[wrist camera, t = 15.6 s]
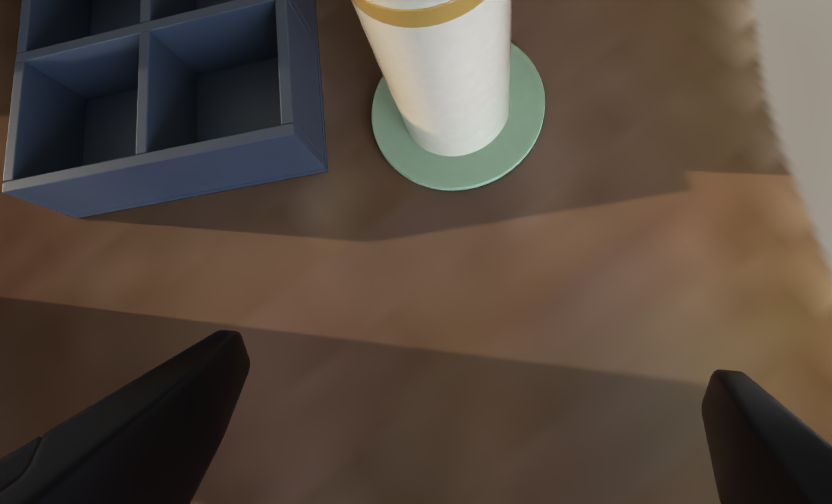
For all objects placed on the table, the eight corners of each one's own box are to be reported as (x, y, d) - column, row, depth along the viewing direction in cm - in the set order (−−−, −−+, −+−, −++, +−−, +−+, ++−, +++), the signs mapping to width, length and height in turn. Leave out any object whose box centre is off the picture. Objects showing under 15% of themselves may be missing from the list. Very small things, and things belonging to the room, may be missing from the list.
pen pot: (469, 177, 24) (435, 5, 13) (379, 124, 26) (277, -73, 14) (533, 88, 25) (557, -158, 13) (442, 40, 26) (391, -216, 15)
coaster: (503, 216, 24) (503, 213, 23) (345, 157, 26) (343, 153, 26) (571, 60, 25) (572, 55, 25) (415, 16, 27) (413, 11, 27)
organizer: (328, 171, 26) (293, 134, 22) (76, 218, 28) (1, 192, 24) (310, -60, 30) (278, -130, 26) (89, -2, 32) (27, -58, 28)
